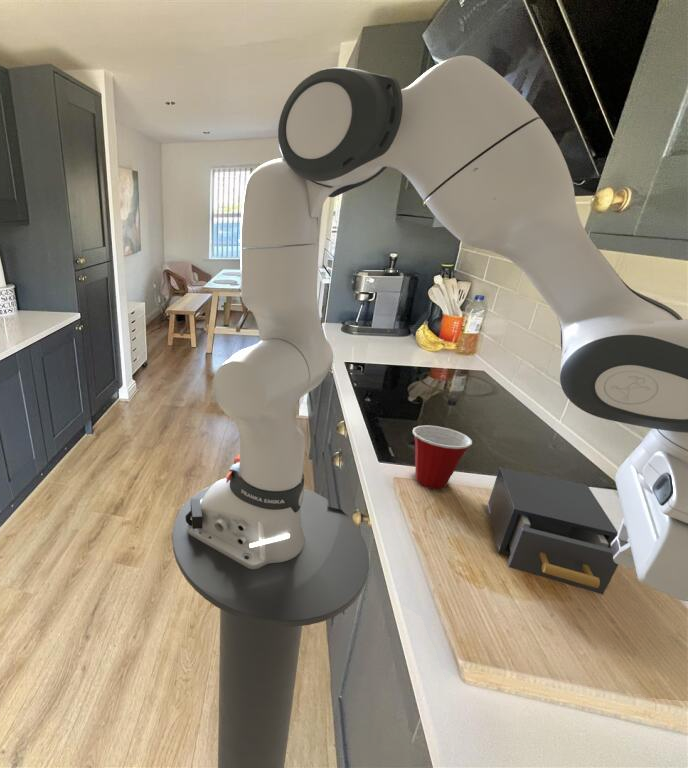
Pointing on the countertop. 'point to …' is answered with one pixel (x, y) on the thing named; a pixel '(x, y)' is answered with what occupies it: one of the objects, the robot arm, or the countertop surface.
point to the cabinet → (543, 505)
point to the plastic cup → (437, 454)
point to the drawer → (561, 553)
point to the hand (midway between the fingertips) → (620, 557)
